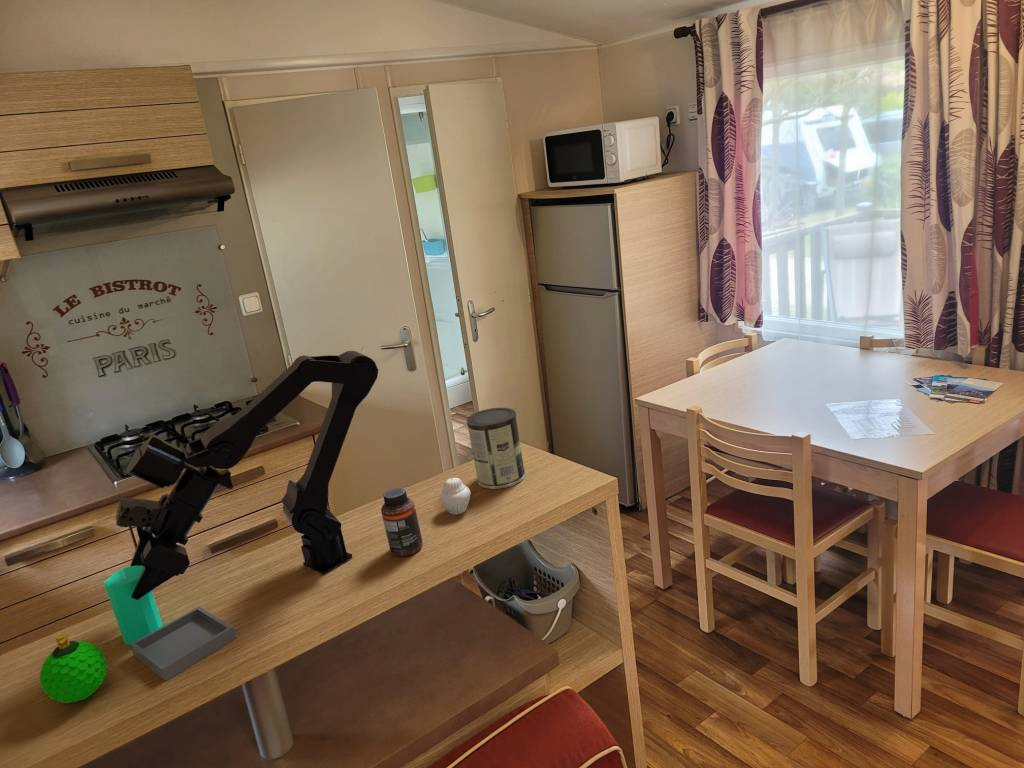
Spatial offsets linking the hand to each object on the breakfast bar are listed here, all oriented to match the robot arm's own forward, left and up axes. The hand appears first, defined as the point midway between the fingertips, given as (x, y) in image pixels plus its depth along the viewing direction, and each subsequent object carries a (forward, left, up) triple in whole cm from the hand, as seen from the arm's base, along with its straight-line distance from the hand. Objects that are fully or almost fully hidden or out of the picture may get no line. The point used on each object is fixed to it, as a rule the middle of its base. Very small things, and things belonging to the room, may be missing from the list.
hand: (132, 586), depth 117 cm
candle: (+1, 0, -9) cm, 9 cm away
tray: (-1, +10, -8) cm, 13 cm away
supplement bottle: (-38, +20, -9) cm, 44 cm away
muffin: (-53, +18, -9) cm, 57 cm away
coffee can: (-68, +16, -9) cm, 71 cm away
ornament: (+13, +8, -9) cm, 17 cm away
